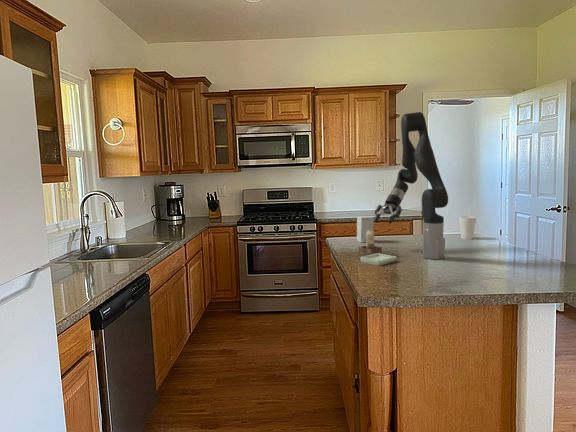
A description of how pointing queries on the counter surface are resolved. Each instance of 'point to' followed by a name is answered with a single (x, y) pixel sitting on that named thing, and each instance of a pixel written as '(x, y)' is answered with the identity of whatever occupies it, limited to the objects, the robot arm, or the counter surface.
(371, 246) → the dowel
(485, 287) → the counter surface
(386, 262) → the tray
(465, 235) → the foam cup
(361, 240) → the skincare box
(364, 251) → the box
